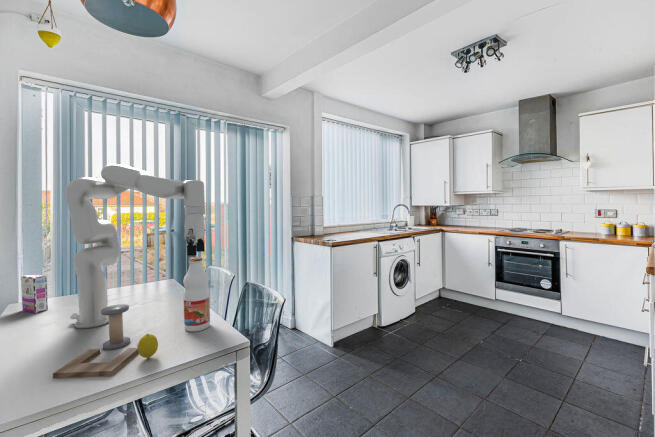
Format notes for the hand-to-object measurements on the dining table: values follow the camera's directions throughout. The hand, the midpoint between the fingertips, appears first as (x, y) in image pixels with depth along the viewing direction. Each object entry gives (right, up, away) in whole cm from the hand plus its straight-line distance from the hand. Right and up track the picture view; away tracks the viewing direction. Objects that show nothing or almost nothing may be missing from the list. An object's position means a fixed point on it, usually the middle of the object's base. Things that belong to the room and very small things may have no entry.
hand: (196, 253), depth 121 cm
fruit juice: (+1, -30, -2) cm, 30 cm away
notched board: (-17, -31, -29) cm, 46 cm away
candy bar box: (-84, -29, +19) cm, 91 cm away
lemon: (-4, -31, -26) cm, 40 cm away
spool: (-21, -30, -16) cm, 40 cm away
